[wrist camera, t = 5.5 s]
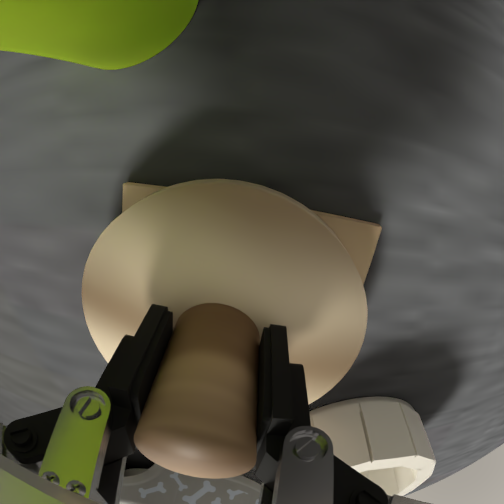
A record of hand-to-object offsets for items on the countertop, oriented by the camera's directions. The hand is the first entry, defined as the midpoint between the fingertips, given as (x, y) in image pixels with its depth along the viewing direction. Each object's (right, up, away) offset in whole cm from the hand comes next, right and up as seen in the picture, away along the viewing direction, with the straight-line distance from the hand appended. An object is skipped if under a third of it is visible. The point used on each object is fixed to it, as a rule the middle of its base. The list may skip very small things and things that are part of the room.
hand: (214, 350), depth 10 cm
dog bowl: (-6, -21, +13) cm, 25 cm away
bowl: (+8, -10, +7) cm, 14 cm away
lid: (0, +1, +2) cm, 2 cm away
